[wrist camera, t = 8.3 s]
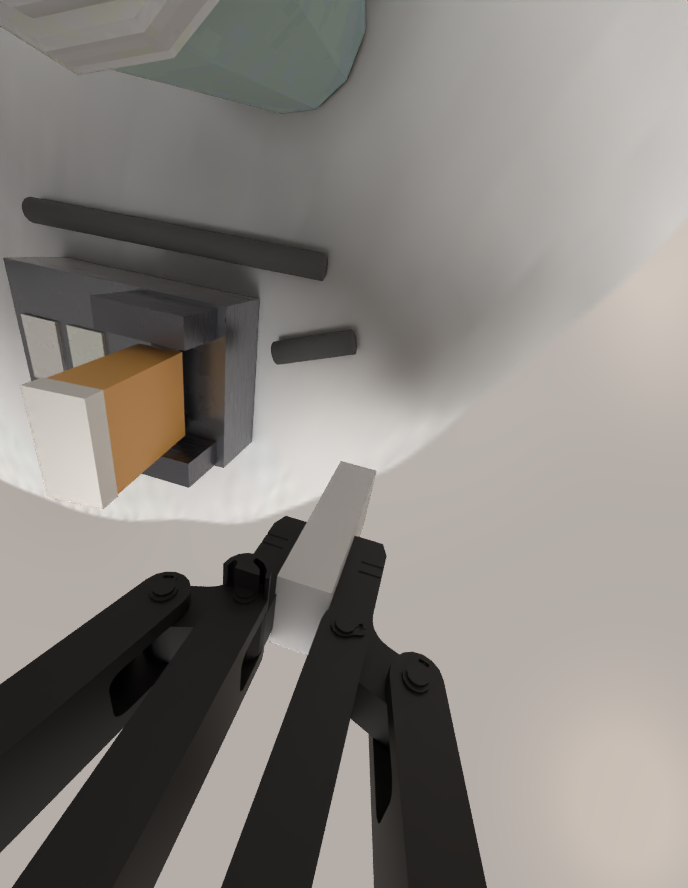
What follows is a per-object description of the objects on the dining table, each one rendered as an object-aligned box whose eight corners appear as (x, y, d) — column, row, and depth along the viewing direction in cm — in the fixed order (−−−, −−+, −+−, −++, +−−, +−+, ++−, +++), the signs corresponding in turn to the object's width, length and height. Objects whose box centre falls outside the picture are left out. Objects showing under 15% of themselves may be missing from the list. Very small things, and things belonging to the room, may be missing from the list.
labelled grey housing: (86, 396, 31) (-5, 432, 24) (63, 257, 26) (-57, 257, 20) (251, 441, 29) (197, 492, 22) (259, 298, 24) (193, 314, 18)
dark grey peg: (283, 361, 25) (274, 366, 24) (278, 339, 25) (269, 344, 23) (357, 351, 24) (352, 356, 23) (354, 327, 23) (348, 332, 22)
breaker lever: (157, 423, 24) (48, 501, 17) (150, 333, 22) (18, 379, 14) (195, 431, 24) (103, 514, 17) (193, 341, 22) (83, 392, 14)
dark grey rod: (45, 223, 25) (25, 222, 24) (41, 198, 25) (19, 195, 23) (325, 280, 22) (318, 281, 21) (329, 253, 22) (321, 253, 21)
